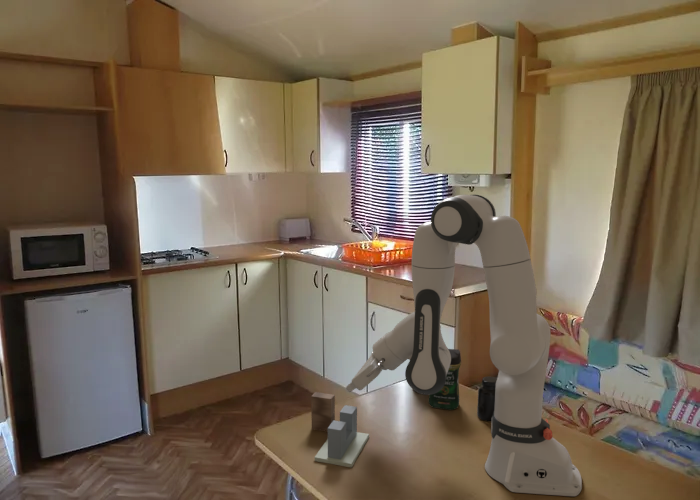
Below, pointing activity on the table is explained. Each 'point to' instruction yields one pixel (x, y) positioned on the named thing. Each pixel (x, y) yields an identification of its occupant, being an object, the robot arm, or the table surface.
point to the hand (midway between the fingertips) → (353, 382)
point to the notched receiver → (343, 440)
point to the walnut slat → (322, 410)
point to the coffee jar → (449, 386)
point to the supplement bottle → (486, 399)
